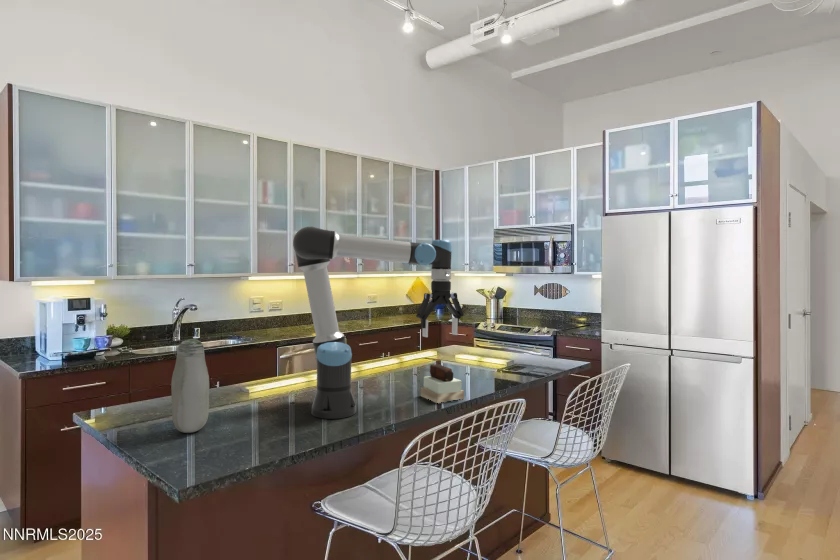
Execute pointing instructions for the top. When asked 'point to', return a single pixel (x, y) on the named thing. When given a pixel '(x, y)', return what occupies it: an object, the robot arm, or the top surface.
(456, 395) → the base block
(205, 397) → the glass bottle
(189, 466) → the top surface
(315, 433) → the top surface
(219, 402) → the top surface
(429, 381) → the top block
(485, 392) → the top surface
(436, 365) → the brick
